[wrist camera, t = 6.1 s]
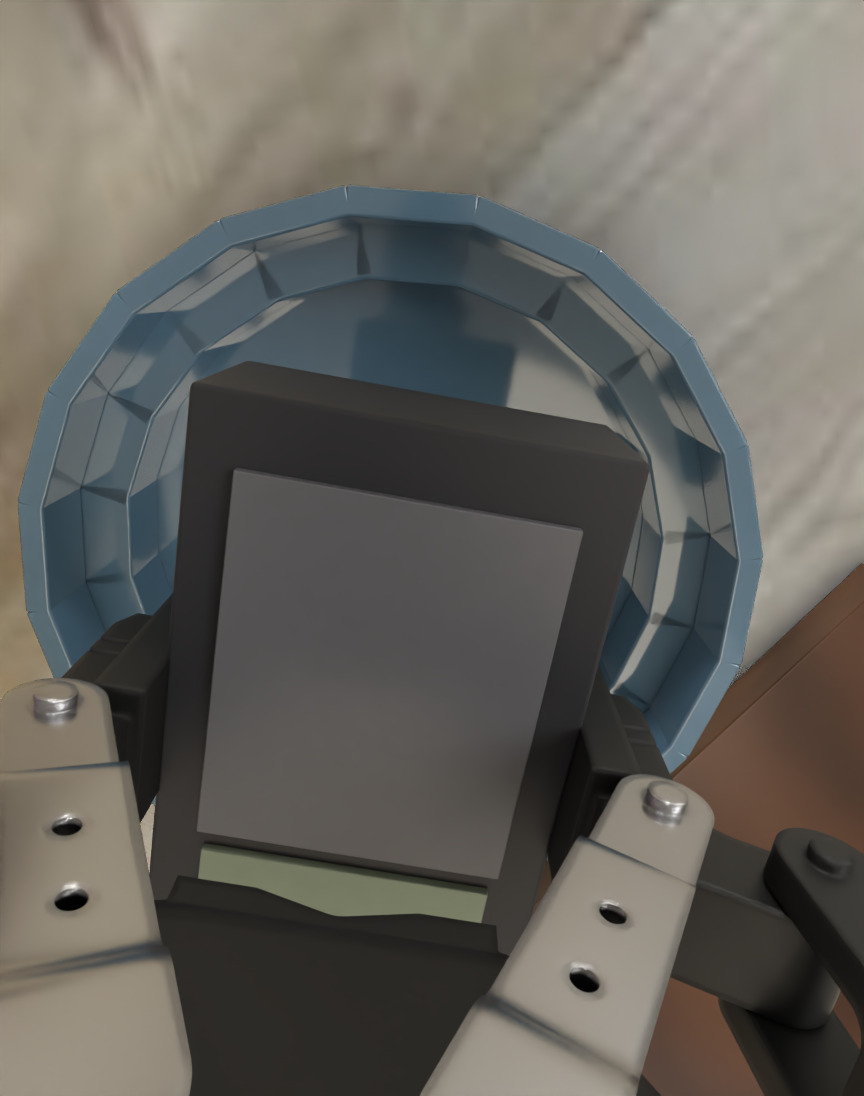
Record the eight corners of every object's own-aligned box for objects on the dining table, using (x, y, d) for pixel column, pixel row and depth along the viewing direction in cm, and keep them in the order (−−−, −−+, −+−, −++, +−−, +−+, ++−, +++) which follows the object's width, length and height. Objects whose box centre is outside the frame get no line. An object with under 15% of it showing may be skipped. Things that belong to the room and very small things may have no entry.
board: (862, 561, 24) (888, 579, 23) (1150, 827, 27) (1190, 858, 25) (423, 971, 29) (422, 1007, 28) (703, 1164, 32) (715, 1206, 30)
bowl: (352, 57, 20) (324, -13, 16) (822, 495, 24) (917, 548, 19) (-7, 558, 25) (-116, 623, 20) (434, 874, 28) (431, 995, 23)
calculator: (245, 359, 13) (184, 382, 10) (609, 424, 13) (656, 466, 10) (192, 867, 16) (134, 999, 13) (489, 914, 17) (499, 1054, 14)
